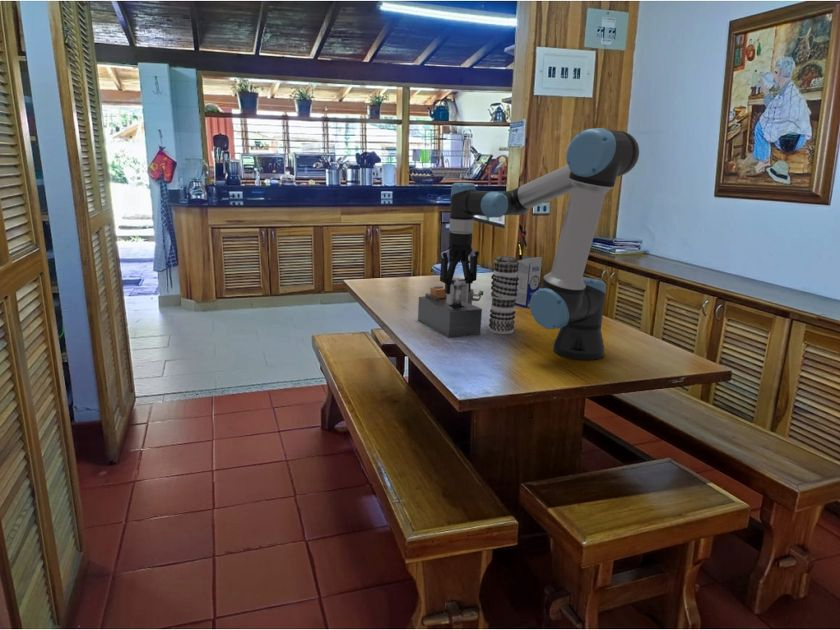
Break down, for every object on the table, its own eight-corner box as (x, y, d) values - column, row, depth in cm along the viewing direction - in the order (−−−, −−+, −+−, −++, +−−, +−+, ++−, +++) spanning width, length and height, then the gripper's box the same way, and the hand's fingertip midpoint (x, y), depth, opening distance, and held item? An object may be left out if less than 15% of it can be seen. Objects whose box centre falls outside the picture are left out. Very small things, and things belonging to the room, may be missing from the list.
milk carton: (526, 308, 229) (531, 258, 224) (513, 304, 234) (517, 255, 229) (537, 306, 233) (542, 256, 228) (524, 302, 238) (528, 254, 233)
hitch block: (480, 333, 193) (482, 306, 190) (448, 337, 187) (450, 309, 185) (447, 317, 212) (448, 291, 209) (417, 320, 206) (418, 294, 204)
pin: (467, 310, 192) (469, 280, 190) (453, 311, 190) (455, 281, 187) (459, 306, 197) (460, 277, 194) (445, 308, 194) (447, 278, 192)
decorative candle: (484, 332, 195) (489, 258, 189) (491, 325, 203) (496, 254, 197) (511, 335, 192) (517, 260, 185) (517, 328, 200) (523, 256, 194)
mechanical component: (481, 318, 212) (482, 291, 209) (453, 315, 214) (454, 289, 211) (482, 316, 215) (483, 289, 212) (454, 313, 217) (455, 287, 214)
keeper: (445, 297, 203) (446, 287, 202) (435, 298, 201) (436, 288, 201) (440, 295, 207) (440, 285, 206) (430, 295, 205) (430, 285, 204)
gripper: (478, 230, 194) (474, 298, 200) (430, 231, 186) (427, 302, 192) (491, 233, 188) (486, 303, 194) (441, 234, 179) (438, 307, 185)
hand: (457, 302), depth 193 cm, fingers closed on pin, 5 cm apart
